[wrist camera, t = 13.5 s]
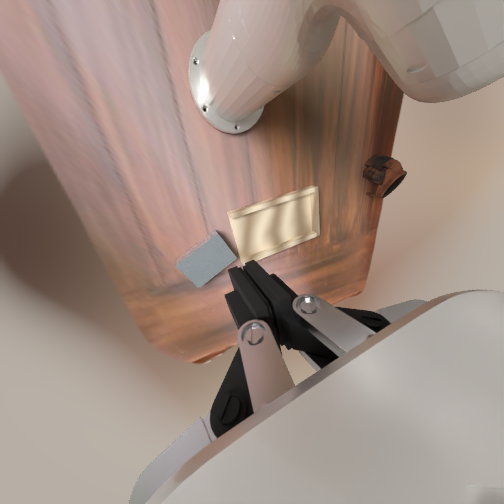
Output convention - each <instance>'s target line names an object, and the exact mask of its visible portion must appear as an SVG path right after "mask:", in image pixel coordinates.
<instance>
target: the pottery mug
mask: <svg viewBox="0 0 504 504" xmlns="http://www.w3.org/2000/svg"><path fill="white" fill-rule="evenodd" d="M365 165H366V166H369V167H368V168H366V169H365V170H364V172H363V177H365V178H366V179H369V180H370V181H371V182H373V183H377V184H379V183H381V182H382V181H383V182H382V184H380V185H378V188H377V189H376V192H375V194H371V193H369V192H367V193H366V194H367V195H370V196H380V197H382V198H384V197H386V196H387V195H388V194H390V193H391V192H392V191H393V190H394V189H395V188H396V187H397V186H398V185H399V184H400V183H401V182H402V180H403V179H404V178H405V176H406V174H407V172H406V171H404V170H403V168H402V166H401V164H400V162H398V161H397V160H394V159H393V158H391V157H387V156H382V155H375V156H373V157H372V158H370V159H369V160H368V161H367V162H366V163H365ZM382 167H383V168H387V169H385V170H382Z"/></svg>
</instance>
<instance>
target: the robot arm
mask: <svg viewBox="0 0 504 504" xmlns="http://www.w3.org/2000/svg"><path fill="white" fill-rule="evenodd" d="M340 16H343V17H344V18H345V19H346V20H347V21H348V23H349V24H350V25H351V26H352V27H353V29H354V30H355V31H356V33H357V34H358V36H359V37H360V38H361V39H363V40H364V41H365V43H366V44H367V45H368V47H369V48H370V49H371V51H372V52H373V54H374V55H375V56H376V58H377V59H378V60H379V62H380V63H381V65H382V66H383V67H384V69H385V70H386V71H387V73H388V74H389V76H390V77H391V78H392V79H393V81H394V82H395V83H396V85H397V86H398V87H399V88H400V89H401V90H402V91H403V92H404V93H405V94H406V95H407V96H409V97H410V98H412V99H414V100H417V101H419V102H427V103H437V102H444V101H449V100H453V99H456V98H459V97H462V96H465V95H467V94H470V93H472V92H474V91H477V90H479V89H481V88H483V87H485V86H487V85H489V84H491V83H493V82H495V81H497V80H498V79H500V78H502V77H504V0H220V3H219V6H218V9H217V13H216V16H215V19H214V23H213V26H212V29H211V30H210V31H208V32H206V33H205V34H203V35H202V36H201V37H200V38H199V39H198V41H197V42H196V43H195V45H194V47H193V49H192V52H191V56H190V60H189V66H188V81H189V88H190V91H191V95H192V98H193V100H194V103H195V105H196V107H197V109H198V110H199V112H200V113H201V115H202V116H203V117H204V118H205V120H206V121H207V122H208V123H209V124H211V125H212V126H213V127H214V128H216V129H218V130H220V131H222V132H225V133H230V134H237V133H242V132H244V131H246V130H248V129H250V128H251V127H252V126H253V125H254V124H256V122H257V121H258V120H259V118H260V116H261V114H262V112H263V110H264V106H265V104H267V103H268V102H269V101H271V100H272V99H274V98H275V97H276V96H278V95H279V94H281V93H282V92H283V91H285V90H286V89H288V88H289V87H290V86H292V85H293V84H295V83H296V82H297V81H299V80H300V79H302V78H303V77H304V76H306V75H307V74H308V73H309V72H310V71H311V70H313V68H314V67H315V66H316V65H317V64H318V63H319V62H320V60H321V59H322V57H323V56H324V54H325V52H326V51H327V49H328V47H329V45H330V43H331V41H332V38H333V36H334V33H335V31H336V28H337V25H338V22H339V19H340ZM193 62H195V63H196V64H197V65H195V64H194V63H193ZM203 109H205V110H206V112H204V111H203ZM235 127H236V128H237V130H236V129H235ZM243 270H244V271H243ZM228 272H229V275H230V278H231V282H232V285H233V288H234V291H232V292H230V293H228V294H225V298H226V301H227V304H228V307H229V309H230V312H231V314H232V316H233V319H234V321H235V323H236V325H237V328H238V330H239V331H238V334H237V337H238V343H239V348H238V350H237V352H236V354H235V357H234V359H233V361H232V363H231V366H230V368H229V370H228V372H227V374H226V376H225V378H224V381H223V383H222V385H221V387H220V390H219V392H218V394H217V396H216V398H215V400H214V403H213V405H212V409H211V411H210V412H209V413H208V414H207V415H206V416H205V417H204V418H203V419H202V418H201V417H200V418H199V419H198V420H197V421H196V422H194V423H193V424H192V425H191V426H190V427H189V428H188V429H187V430H186V431H185V432H184V433H183V434H182V435H180V437H179V438H177V439H176V440H175V441H174V442H173V443H172V444H171V445H170V446H169V447H168V448H167V449H165V450H164V451H163V452H162V453H161V454H160V455H159V456H158V457H157V458H156V459H155V460H154V461H153V462H151V463H150V464H149V465H148V466H147V468H146V469H145V470H144V471H143V472H142V474H141V475H140V476H139V478H138V480H137V482H136V484H135V486H134V488H133V491H132V494H131V497H130V500H129V504H504V292H500V291H494V290H468V291H461V292H455V293H451V294H447V295H443V296H440V297H437V298H435V299H432V300H430V301H428V302H427V301H424V300H410V301H406V302H403V303H400V304H396V305H393V306H390V307H386V308H382V309H379V310H377V313H375V312H372V311H366V310H357V309H349V308H341V307H334V306H332V305H331V304H329V303H327V302H326V301H324V300H323V299H321V298H319V297H317V296H315V295H311V294H304V295H300V296H298V295H297V294H296V293H295V292H294V291H292V290H291V289H290V288H289V287H288V286H287V285H286V284H285V283H284V282H283V281H282V280H281V279H280V278H279V277H277V276H276V275H275V274H271V275H269V274H268V273H267V272H266V271H265V270H264V269H263V268H262V267H261V266H260V265H259V264H258V263H257V262H256V261H255V260H251V261H248V262H246V263H245V266H243V269H242V268H241V267H240V268H238V267H237V266H236V267H233V268H231V269H228ZM280 345H281V346H283V345H285V346H286V348H287V349H288V350H289V349H291V348H293V349H295V350H299V352H300V354H301V355H302V356H303V357H304V358H305V359H306V361H307V362H308V363H309V364H310V365H311V366H312V367H313V368H314V369H315V370H316V371H317V372H316V373H315V374H313V375H312V376H310V377H308V378H307V379H305V380H304V381H302V382H301V383H299V384H298V385H296V386H295V384H294V383H293V380H292V378H291V375H290V373H289V371H288V368H287V366H286V364H285V361H284V359H283V357H282V352H281V348H280Z"/></svg>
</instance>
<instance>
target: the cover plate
mask: <svg viewBox="0 0 504 504" xmlns="http://www.w3.org/2000/svg"><path fill="white" fill-rule="evenodd" d="M236 259H237V257H236V256H235V255H234V253H233V252H232V251H231V250H230V248H229V247H228V246H227V244H226V243H225V242H224V240H223V239H222V238H221V237H220V235H219V234H218V233H217V232H216V230H214V231H213V232H212V233H210V234H209V235H208V236H206V237H205V238H204V239H202V240H201V241H200V242H198V243H197V244H196V245H194V246H193V247H192V248H191V249H189V250H188V251H187V252H185V253H184V254H183V255H181V256H180V257H179V258H177V259H176V260H175V266H176V267H177V268H178V269H179V270H180V271H181V272H182V273H183V274H184V275H185V276H187V277H188V278H189V279H190V280H191V281H192V282H193V283H194V284H195V285H196V286H197V287H198V288H200V287H201V286H203V285H204V284H205V283H207V282H208V281H209V280H210V279H212V278H213V277H214V276H215V275H217V274H218V273H219V272H221V271H222V270H223V269H224V268H226V267H227V266H228V265H229V264H231V263H232V262H233V261H235V260H236Z"/></svg>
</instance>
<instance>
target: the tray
mask: <svg viewBox="0 0 504 504" xmlns="http://www.w3.org/2000/svg"><path fill="white" fill-rule="evenodd" d="M227 213H228V217H229V221H230V224H231V228H232V232H233V235H234V239H235V243H236V246H237V250H238V254H239V257H240V261H241V263H242V264H243V265H244V266H245V263H246V262H248V261H251V260H255V261H258V260H260V259H263V258H265V257H267V256H270V255H272V254H275V253H277V252H280V251H282V250H285V249H287V248H290V247H292V246H294V245H297V244H299V243H302V242H304V241H307V240H309V239H312V238H314V237H317V236H319V235H320V225H319V195H318V186H309V187H306V188H303V189H299V190H296V191H293V192H290V193H287V194H283V195H280V196H277V197H274V198H271V199H267V200H264V201H261V202H258V203H255V204H251V205H248V206H245V207H242V208H239V209H235V210H232V211H229V212H227Z"/></svg>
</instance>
